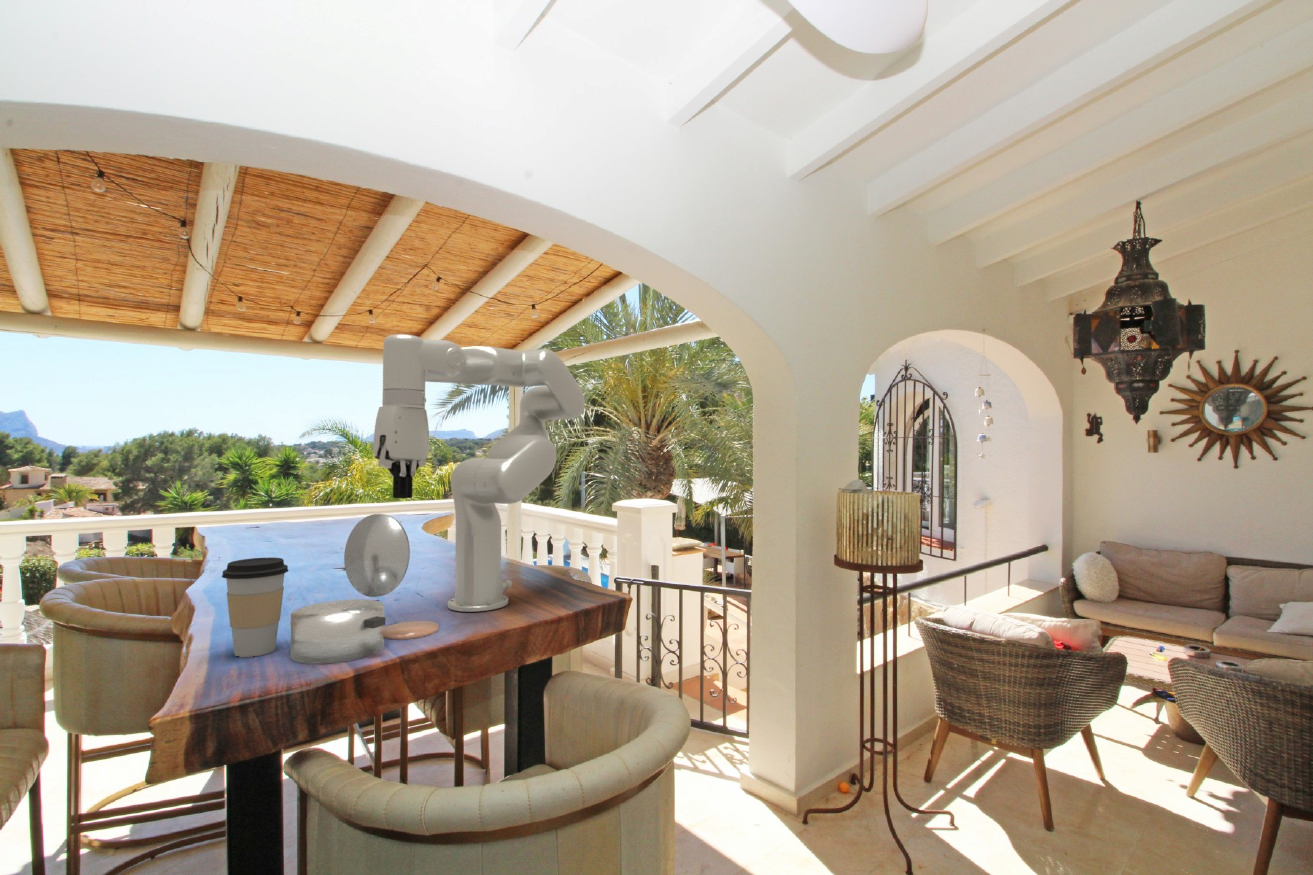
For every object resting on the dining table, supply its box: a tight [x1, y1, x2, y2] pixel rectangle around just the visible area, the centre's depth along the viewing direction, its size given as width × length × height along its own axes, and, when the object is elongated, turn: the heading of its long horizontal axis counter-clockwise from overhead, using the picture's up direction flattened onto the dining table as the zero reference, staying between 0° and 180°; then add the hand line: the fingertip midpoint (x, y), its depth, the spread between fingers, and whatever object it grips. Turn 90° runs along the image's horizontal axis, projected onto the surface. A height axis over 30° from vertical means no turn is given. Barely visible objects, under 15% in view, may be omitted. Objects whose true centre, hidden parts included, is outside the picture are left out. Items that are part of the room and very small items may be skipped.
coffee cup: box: [221, 557, 290, 658], centre depth 106 cm, size 9×9×15 cm
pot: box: [289, 598, 386, 665], centre depth 107 cm, size 14×18×7 cm
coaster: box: [384, 620, 440, 640], centre depth 118 cm, size 10×10×1 cm
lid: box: [343, 513, 411, 598], centre depth 115 cm, size 15×15×2 cm
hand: (402, 497), depth 120 cm, fingers closed
